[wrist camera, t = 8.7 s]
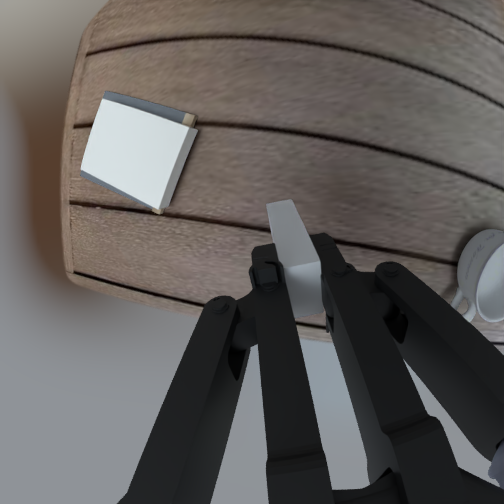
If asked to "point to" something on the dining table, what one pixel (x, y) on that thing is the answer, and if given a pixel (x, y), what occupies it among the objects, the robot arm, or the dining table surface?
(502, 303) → the teacup
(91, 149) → the tile
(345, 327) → the robot arm
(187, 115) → the oak strip
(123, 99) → the mat
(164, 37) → the dining table surface
